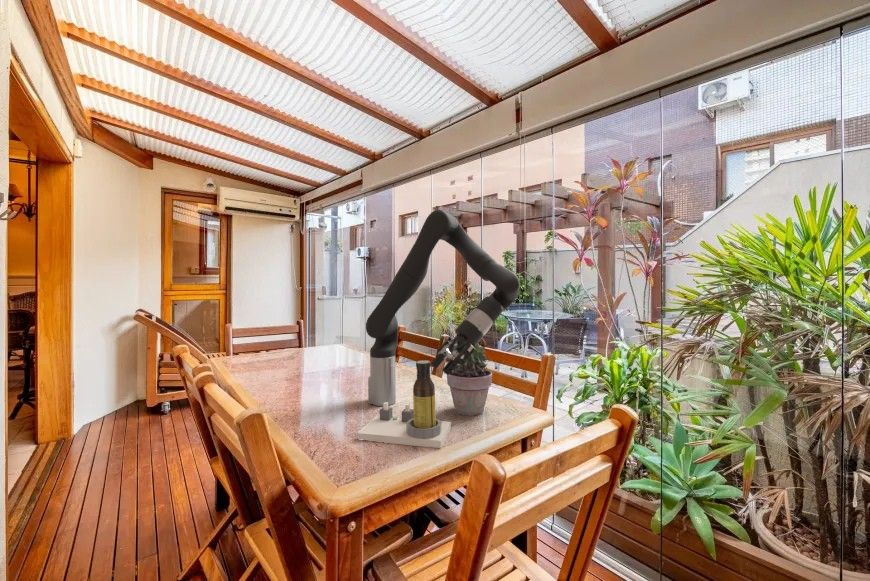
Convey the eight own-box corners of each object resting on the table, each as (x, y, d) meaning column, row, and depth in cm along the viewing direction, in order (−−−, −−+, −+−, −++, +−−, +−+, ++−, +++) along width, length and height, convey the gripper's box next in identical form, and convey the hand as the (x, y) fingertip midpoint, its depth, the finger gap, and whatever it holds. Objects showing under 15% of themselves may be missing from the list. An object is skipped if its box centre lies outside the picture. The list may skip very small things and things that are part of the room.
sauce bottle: (426, 425, 111) (426, 358, 111) (440, 431, 106) (440, 361, 106) (408, 430, 107) (408, 361, 107) (422, 437, 102) (422, 364, 102)
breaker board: (357, 440, 106) (357, 414, 106) (376, 422, 120) (376, 399, 120) (440, 448, 101) (440, 421, 100) (450, 428, 114) (450, 404, 114)
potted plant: (433, 417, 123) (432, 341, 123) (452, 400, 142) (452, 333, 141) (487, 425, 117) (487, 344, 116) (500, 405, 135) (500, 336, 134)
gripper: (455, 316, 118) (421, 356, 114) (478, 321, 105) (440, 366, 100) (470, 332, 120) (437, 372, 116) (494, 339, 107) (458, 383, 103)
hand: (438, 369), depth 108 cm, fingers open, 8 cm apart
